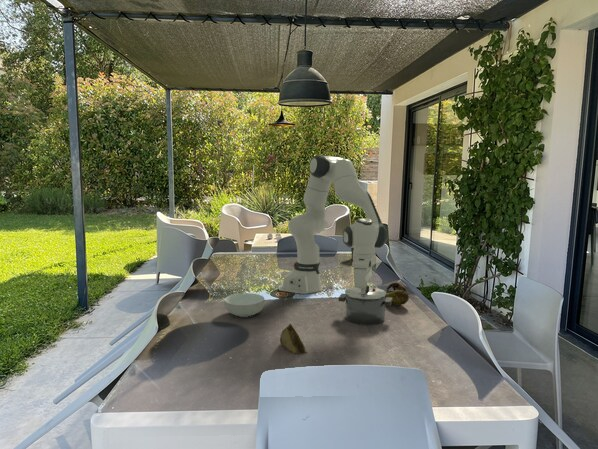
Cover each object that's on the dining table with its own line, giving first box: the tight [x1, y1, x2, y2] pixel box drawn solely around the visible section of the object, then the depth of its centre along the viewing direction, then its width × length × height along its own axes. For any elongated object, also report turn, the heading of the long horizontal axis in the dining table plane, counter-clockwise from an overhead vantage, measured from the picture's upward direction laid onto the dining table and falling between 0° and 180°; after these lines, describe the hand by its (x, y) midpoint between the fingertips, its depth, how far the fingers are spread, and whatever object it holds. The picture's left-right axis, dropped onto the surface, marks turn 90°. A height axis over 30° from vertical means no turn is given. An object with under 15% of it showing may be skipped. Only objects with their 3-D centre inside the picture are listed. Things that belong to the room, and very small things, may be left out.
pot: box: [338, 293, 392, 326], centre depth 185 cm, size 21×17×10 cm
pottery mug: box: [386, 281, 407, 294], centre depth 215 cm, size 12×10×8 cm
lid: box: [344, 284, 387, 300], centre depth 184 cm, size 17×17×3 cm
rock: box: [279, 323, 307, 354], centre depth 155 cm, size 11×9×10 cm
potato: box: [385, 290, 410, 306], centre depth 201 cm, size 8×13×8 cm, turn 9°
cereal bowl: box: [224, 292, 265, 318], centre depth 191 cm, size 17×17×7 cm
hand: (363, 293), depth 180 cm, fingers closed
